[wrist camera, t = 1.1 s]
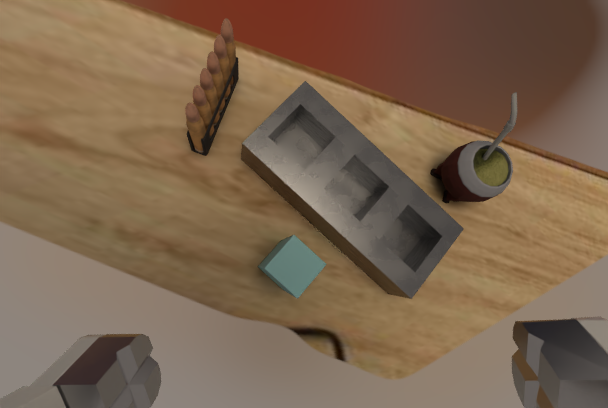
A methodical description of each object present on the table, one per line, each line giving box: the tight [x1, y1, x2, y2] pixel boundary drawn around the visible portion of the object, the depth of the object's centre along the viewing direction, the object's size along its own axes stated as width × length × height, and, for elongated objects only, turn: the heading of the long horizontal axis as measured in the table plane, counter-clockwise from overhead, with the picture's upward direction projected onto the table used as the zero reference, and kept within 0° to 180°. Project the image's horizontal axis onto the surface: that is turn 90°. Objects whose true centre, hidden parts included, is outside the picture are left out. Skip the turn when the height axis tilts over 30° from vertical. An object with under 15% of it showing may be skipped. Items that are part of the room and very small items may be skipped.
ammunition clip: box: [186, 19, 238, 156], centre depth 38 cm, size 11×2×12 cm, turn 161°
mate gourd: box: [430, 92, 517, 203], centre depth 41 cm, size 8×8×15 cm
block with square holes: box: [241, 81, 464, 299], centre depth 42 cm, size 24×10×6 cm, turn 48°
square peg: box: [258, 235, 326, 298], centre depth 38 cm, size 4×4×10 cm
